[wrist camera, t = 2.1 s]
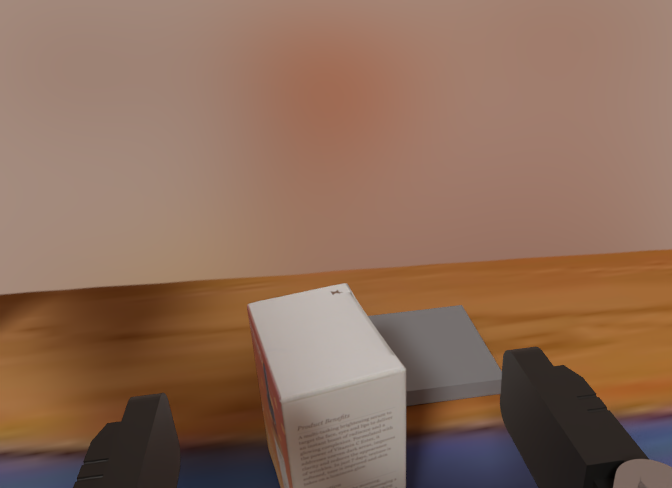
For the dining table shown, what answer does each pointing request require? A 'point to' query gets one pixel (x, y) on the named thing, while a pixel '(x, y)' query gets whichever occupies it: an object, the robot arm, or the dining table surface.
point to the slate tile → (440, 354)
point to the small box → (329, 392)
